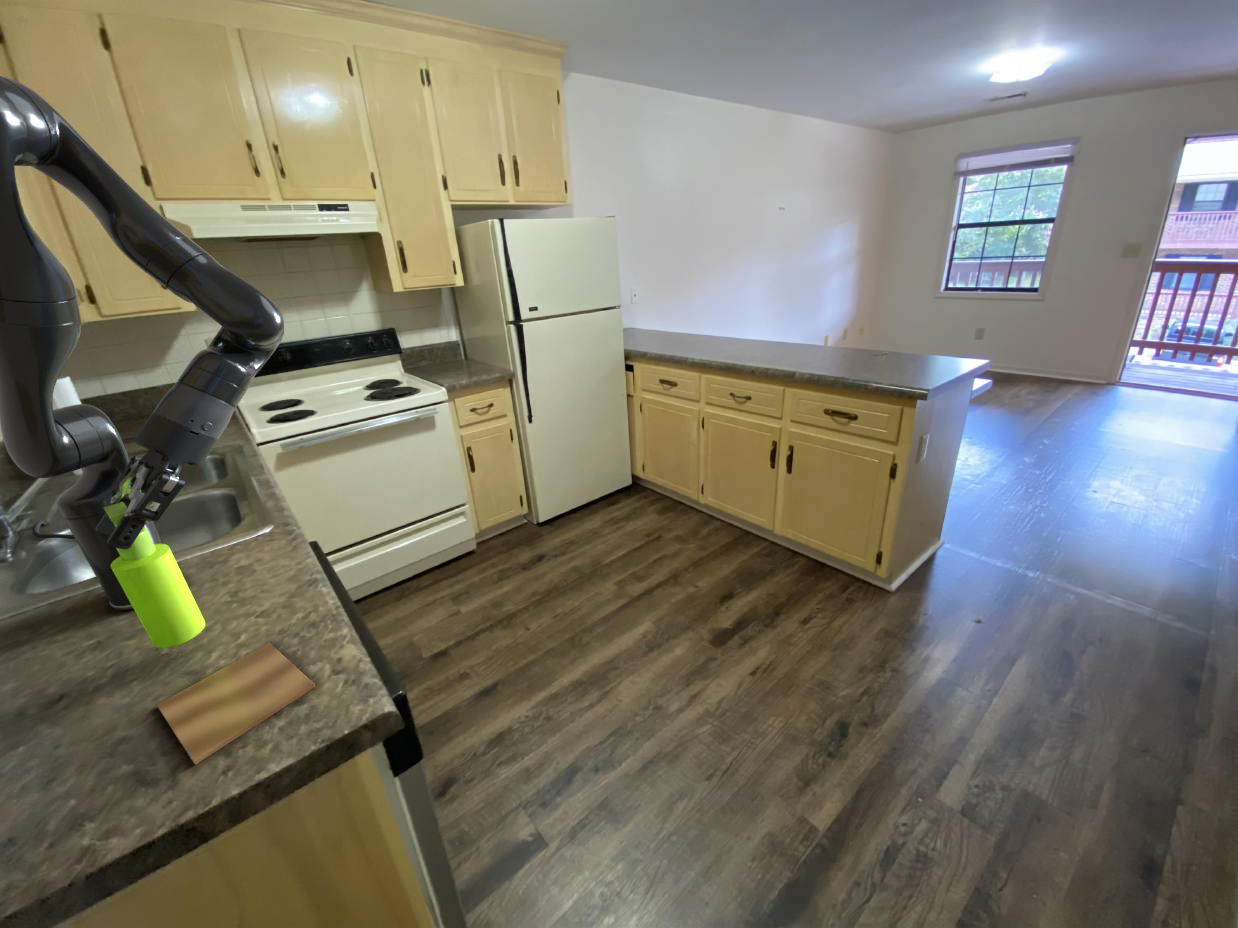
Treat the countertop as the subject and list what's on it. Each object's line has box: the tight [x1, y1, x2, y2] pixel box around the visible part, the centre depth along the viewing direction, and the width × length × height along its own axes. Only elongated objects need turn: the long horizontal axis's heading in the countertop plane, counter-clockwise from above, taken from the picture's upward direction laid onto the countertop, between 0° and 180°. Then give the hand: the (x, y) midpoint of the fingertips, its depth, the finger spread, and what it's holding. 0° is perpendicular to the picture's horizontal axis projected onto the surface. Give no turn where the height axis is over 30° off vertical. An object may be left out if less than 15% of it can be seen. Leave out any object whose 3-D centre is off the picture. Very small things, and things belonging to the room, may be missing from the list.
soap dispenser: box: [103, 502, 206, 649], centre depth 68 cm, size 6×7×20 cm
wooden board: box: [156, 642, 316, 766], centre depth 65 cm, size 14×13×1 cm
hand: (111, 539), depth 64 cm, fingers closed on soap dispenser, 5 cm apart
